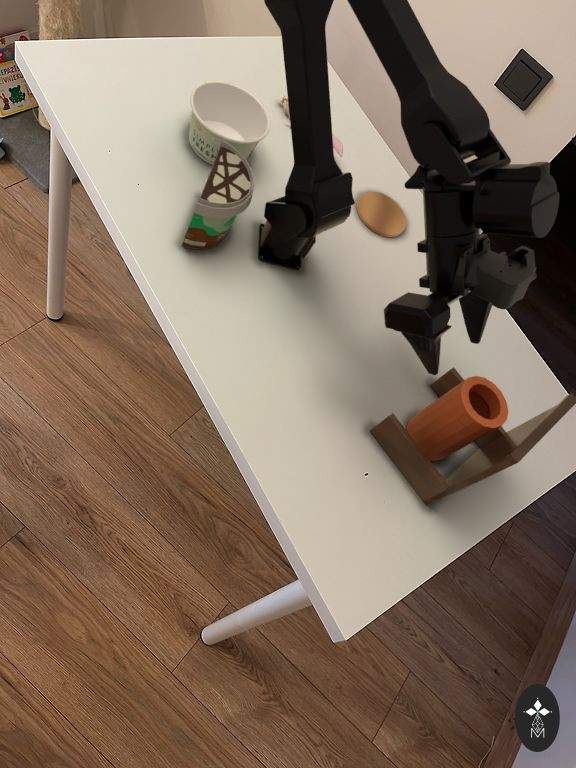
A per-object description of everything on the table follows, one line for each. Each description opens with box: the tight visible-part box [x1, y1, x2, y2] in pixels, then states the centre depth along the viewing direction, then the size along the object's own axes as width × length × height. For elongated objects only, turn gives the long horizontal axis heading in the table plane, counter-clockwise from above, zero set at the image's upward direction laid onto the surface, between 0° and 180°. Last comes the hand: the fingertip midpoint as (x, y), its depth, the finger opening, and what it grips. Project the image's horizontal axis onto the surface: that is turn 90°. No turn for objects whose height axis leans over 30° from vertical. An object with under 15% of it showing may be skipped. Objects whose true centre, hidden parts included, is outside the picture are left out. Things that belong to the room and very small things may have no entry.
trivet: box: [356, 191, 407, 238], centre depth 98 cm, size 9×9×1 cm
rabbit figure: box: [279, 94, 344, 159], centre depth 98 cm, size 6×6×15 cm
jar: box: [406, 375, 509, 462], centre depth 76 cm, size 7×7×12 cm
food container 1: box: [188, 80, 271, 166], centre depth 88 cm, size 12×12×6 cm
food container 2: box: [181, 140, 255, 250], centre depth 79 cm, size 12×6×10 cm, turn 168°
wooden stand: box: [369, 367, 576, 506], centre depth 74 cm, size 12×15×17 cm
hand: (454, 357), depth 72 cm, fingers open, 9 cm apart
